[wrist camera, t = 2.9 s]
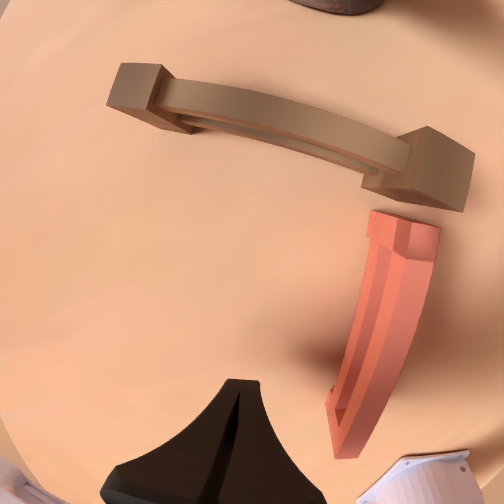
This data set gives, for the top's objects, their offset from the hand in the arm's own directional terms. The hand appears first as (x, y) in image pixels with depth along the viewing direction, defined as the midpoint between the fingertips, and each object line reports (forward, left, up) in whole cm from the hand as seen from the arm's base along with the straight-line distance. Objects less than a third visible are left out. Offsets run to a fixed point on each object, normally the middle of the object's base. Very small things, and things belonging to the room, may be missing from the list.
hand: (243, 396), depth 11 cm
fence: (-10, -11, -4) cm, 15 cm away
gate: (-5, -3, -3) cm, 7 cm away
